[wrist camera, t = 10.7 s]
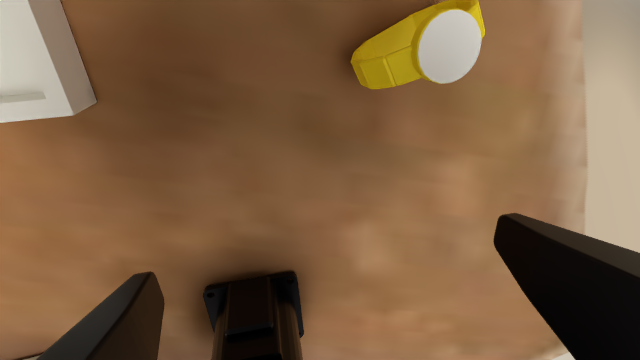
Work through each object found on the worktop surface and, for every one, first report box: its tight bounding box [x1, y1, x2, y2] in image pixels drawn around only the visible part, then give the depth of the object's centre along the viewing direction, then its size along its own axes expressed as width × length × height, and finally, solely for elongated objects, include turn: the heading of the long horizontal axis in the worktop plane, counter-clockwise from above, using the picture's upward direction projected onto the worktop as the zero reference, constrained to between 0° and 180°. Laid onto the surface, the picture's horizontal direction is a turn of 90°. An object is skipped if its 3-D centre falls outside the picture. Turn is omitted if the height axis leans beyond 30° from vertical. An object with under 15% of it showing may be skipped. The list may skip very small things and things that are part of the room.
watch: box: [351, 0, 485, 89], centre depth 16 cm, size 6×3×6 cm, turn 117°
